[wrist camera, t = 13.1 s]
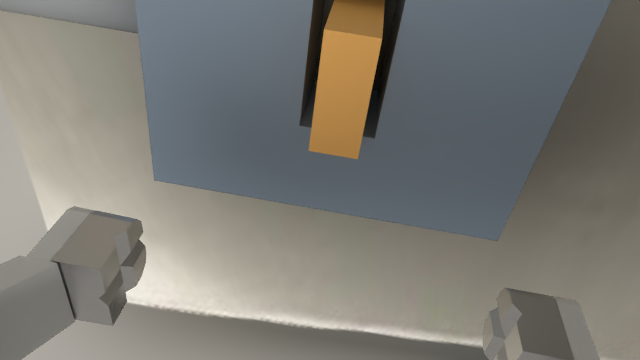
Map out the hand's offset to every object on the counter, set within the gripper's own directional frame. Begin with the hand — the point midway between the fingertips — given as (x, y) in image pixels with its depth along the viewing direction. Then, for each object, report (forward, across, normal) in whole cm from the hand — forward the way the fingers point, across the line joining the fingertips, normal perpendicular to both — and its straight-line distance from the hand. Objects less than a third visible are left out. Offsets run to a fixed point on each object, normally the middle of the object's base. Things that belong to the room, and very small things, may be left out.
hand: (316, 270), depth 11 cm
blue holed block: (+17, +6, 0) cm, 18 cm away
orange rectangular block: (+17, 0, 0) cm, 17 cm away
